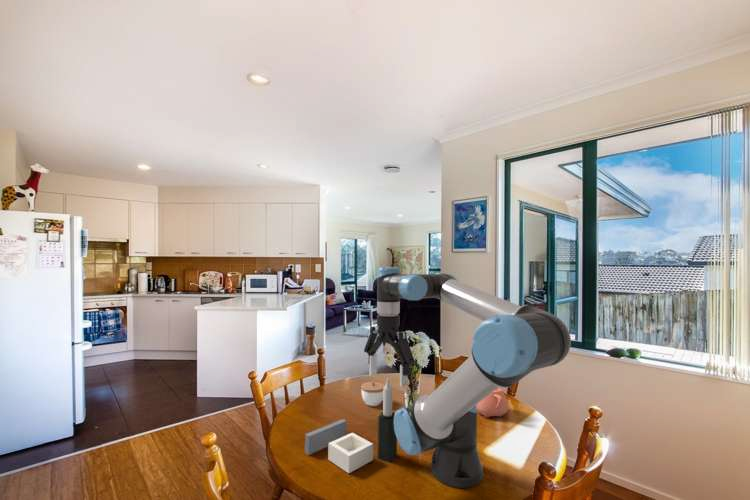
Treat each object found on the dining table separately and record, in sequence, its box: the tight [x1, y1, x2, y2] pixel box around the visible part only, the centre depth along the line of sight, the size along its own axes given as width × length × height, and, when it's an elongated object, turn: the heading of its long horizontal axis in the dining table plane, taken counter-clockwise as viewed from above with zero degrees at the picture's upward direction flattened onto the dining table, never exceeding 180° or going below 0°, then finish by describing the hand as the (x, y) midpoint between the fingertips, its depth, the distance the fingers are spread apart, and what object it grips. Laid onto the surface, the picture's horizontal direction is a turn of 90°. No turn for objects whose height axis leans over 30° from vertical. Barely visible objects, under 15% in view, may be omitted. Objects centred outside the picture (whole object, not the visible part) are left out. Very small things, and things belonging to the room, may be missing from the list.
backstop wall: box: [304, 418, 348, 456], centre depth 117 cm, size 2×16×6 cm, turn 135°
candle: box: [377, 377, 398, 463], centre depth 111 cm, size 5×5×25 cm
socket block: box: [327, 432, 374, 474], centre depth 108 cm, size 10×10×5 cm
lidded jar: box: [360, 381, 386, 407], centre depth 152 cm, size 11×11×9 cm
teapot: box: [476, 387, 509, 419], centre depth 144 cm, size 13×20×12 cm, turn 11°
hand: (387, 379), depth 112 cm, fingers open, 13 cm apart
